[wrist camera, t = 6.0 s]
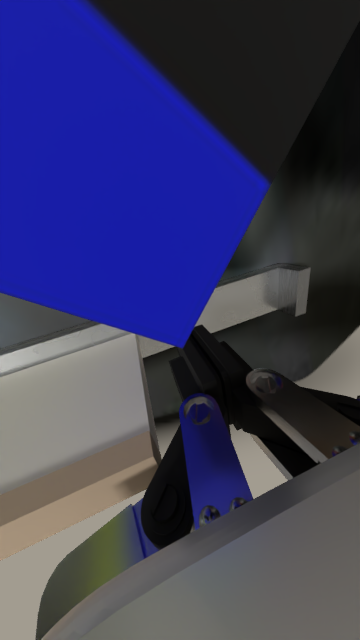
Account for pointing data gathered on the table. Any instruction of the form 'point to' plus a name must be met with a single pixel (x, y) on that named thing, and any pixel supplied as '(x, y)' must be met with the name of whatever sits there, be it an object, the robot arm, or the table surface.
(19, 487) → the screen
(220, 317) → the rail
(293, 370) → the table surface
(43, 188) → the puzzle toy
